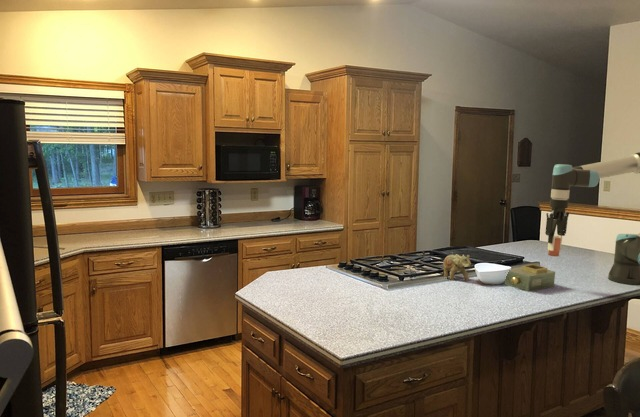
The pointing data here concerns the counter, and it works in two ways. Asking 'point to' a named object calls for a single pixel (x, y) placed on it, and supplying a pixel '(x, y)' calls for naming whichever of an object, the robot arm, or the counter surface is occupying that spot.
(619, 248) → the robot arm
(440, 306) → the counter surface
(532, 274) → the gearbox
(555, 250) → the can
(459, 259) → the figurine
